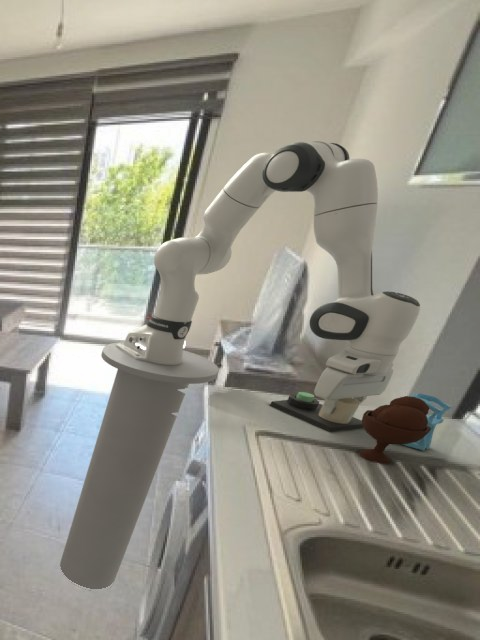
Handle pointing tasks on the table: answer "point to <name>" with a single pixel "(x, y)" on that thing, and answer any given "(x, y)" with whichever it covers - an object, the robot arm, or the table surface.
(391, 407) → the ice cream bowl
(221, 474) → the table surface
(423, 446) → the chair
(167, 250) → the robot arm
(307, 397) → the tare button
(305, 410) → the scale
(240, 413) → the table surface
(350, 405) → the cream bowl
